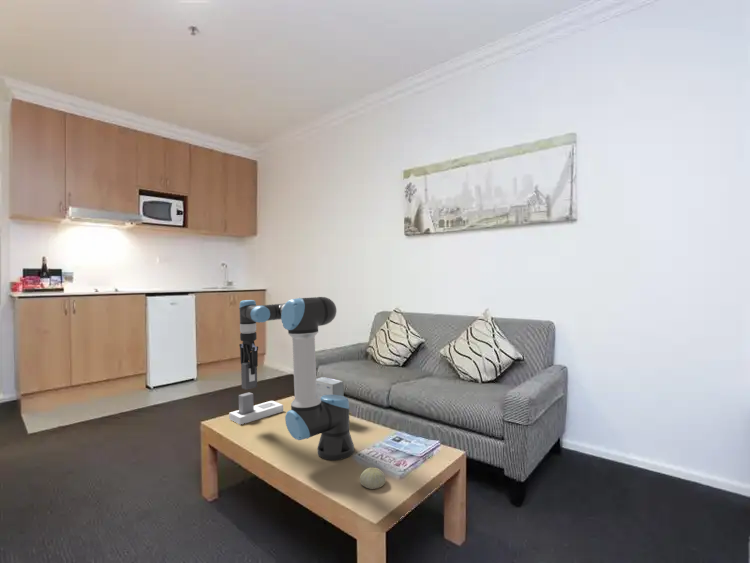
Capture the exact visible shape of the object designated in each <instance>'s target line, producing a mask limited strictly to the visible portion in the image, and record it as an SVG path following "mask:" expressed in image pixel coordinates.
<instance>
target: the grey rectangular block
mask: <svg viewBox="0 0 750 563" xmlns="http://www.w3.org/2000/svg"><path fill="white" fill-rule="evenodd" d="M240 364H241V365H240V366H241V369H240V373H241V389H242V390H245V391H247V390H250V389H255V388H257V387H258V366H257V367H255V381H251V382H249V368H248V367H250V365H249V362H246V363H241V362H240Z"/></svg>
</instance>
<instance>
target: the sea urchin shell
mask: <svg viewBox="0 0 750 563" xmlns="http://www.w3.org/2000/svg"><path fill="white" fill-rule="evenodd" d="M359 483H360V485H362V486H363V487H365V488H366V489H369V490H375V489H378V488H381V487H383V486H384V485H385V484H386V475H385V474H384V472H383V471H382V470H381V469H380V468H378V467H367V468H365V470H363V471H362V473H361V474H360V476H359Z"/></svg>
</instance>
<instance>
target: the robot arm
mask: <svg viewBox="0 0 750 563" xmlns="http://www.w3.org/2000/svg"><path fill="white" fill-rule="evenodd" d="M238 309H239V332H240V334H239V336H240V337H239V341H241V342H242V343H239V345H238V346H239V352H240V353H239V354H240V355H239V356H240V364H241V363H246V362H249V365H250V367H248V368H249V382H251V381H255V367H257V368H258V365H259V364H258V363H259V361H258V360H259V359H258V351H259V346H256V344H255V341H256V340H257V323H265V322H269V321H279V320H281V323H282V326H283V328H284V329H285V330H287V333H288V335H289V336H290V337H291V339H292V340H291V341H292V356H293V357H292V360H293V362H292V363H293V364H292V365H293V366H292V367H293V387H294V388H293V389H294V390H293V391H294V399H293V400H292V401H291V403H290V408H291V409H290V410H288V411H287V412H286V414H285V416H284V417H285V426H286V428H287V431H288V433H289V434H290V435H291V437H292V438H294V439H295V440H297V441H302V440H307V439H310V438H313V437H314V436H317V435H320V438H319V441H318V445H317V455H318V457H320V458H321V459H324V460H329V461H338V460H344V459H347V458H349V457H351V456H352V455H353V454H354V452H355V444H354V442H353V439H352V436H351V432H350V400H349V399H348V398H347V396H341V395H323V396H322V397H321V399H319V398H318V397H317V383H316V379H317V363H316V361H317V360H316V341H315V340H316V335H317V334H318V333H319V327H322V326H326V325H328V324H330V323H332V322H333V320H334V319H335V317H336V316H337V306H336V304H335V302H334V301H333V300H332V299H330V298H328V297H325V296H317V297H316V296H315V297H299V298H297V297H296V298H292V299H289V300H287V301H286V302H284V303H275V304H272V303H271V304H262V305H261V304H259V305H258V304H257V302H256V300H254V299H245V300H241V301H240V302H239V307H238Z"/></svg>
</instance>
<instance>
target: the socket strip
mask: <svg viewBox="0 0 750 563" xmlns="http://www.w3.org/2000/svg"><path fill="white" fill-rule="evenodd" d="M254 404H255V403H254V393H252V392H245V393H241V394H238V410H234V411H231V412H228V413H229V414H228V415H229V418H228V420H229V419H230V420H229V421H231V420H232V421H231V422H233V421H234V423H235V422H236V424H237V423H238V424H237V425H239V424H240V426H241V424H242V425H245V424H248V423H250V422H254V421H257V420H260V419H263V418H267V417H269V416H272V415H275V414H279V413H283V412H284V404H282V403H279V402H278V401H274V400H269V401H266V402H265V401H264V402H262V403H261V402H260V403H258V404H255V405H254ZM244 423H245V424H244Z"/></svg>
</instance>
